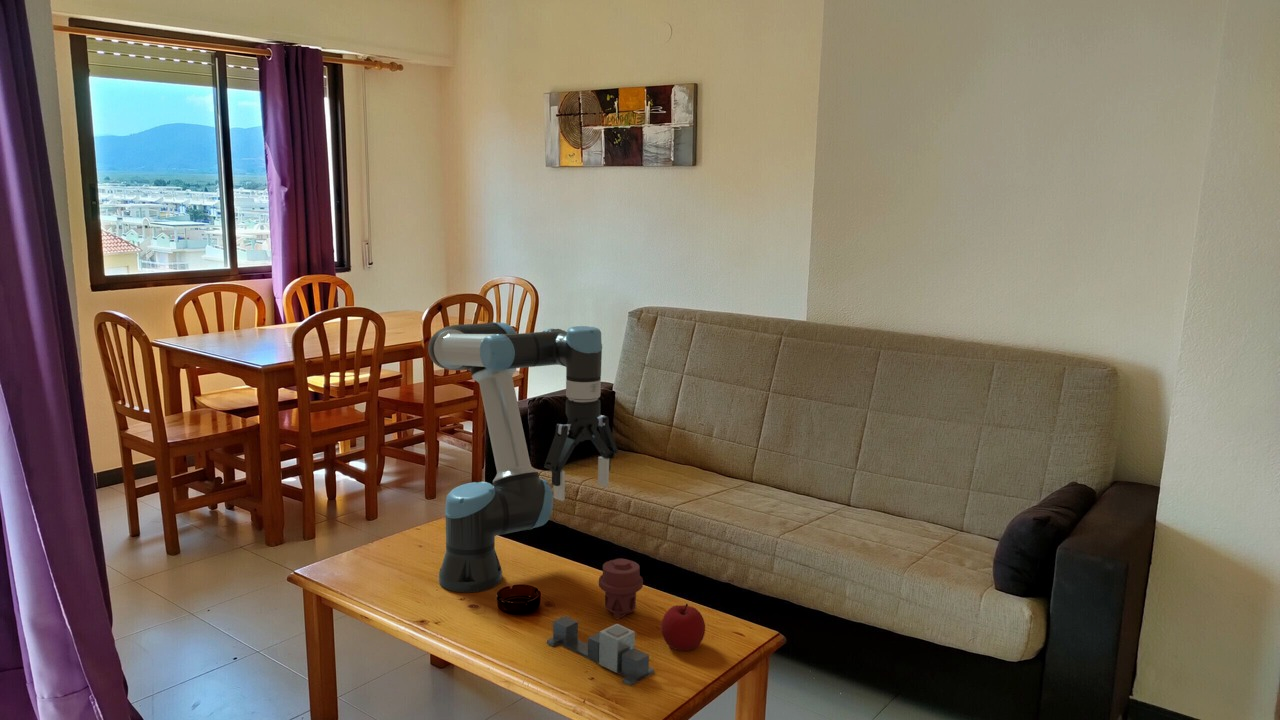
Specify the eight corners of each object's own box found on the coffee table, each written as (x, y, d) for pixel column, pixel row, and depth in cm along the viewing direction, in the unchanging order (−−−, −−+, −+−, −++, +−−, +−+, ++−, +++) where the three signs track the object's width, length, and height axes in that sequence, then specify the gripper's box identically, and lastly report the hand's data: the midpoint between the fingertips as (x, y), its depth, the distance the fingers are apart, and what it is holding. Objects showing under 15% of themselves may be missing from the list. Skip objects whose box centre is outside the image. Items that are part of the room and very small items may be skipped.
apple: (702, 636, 196) (704, 593, 194) (706, 657, 187) (708, 612, 185) (659, 635, 196) (661, 592, 194) (661, 656, 187) (663, 611, 185)
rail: (546, 643, 191) (546, 623, 190) (570, 632, 196) (571, 613, 195) (630, 686, 175) (630, 664, 174) (654, 672, 180) (654, 651, 179)
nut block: (598, 664, 182) (599, 630, 181) (616, 655, 186) (617, 622, 184) (616, 673, 179) (617, 638, 177) (634, 664, 182) (635, 630, 181)
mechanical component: (645, 606, 210) (637, 625, 200) (603, 601, 212) (593, 620, 202) (647, 555, 208) (638, 572, 198) (605, 551, 209) (594, 567, 200)
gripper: (552, 410, 184) (551, 509, 188) (634, 393, 203) (632, 484, 206) (528, 403, 189) (527, 500, 193) (610, 387, 208) (608, 476, 211)
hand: (581, 492), depth 200 cm, fingers open, 13 cm apart
